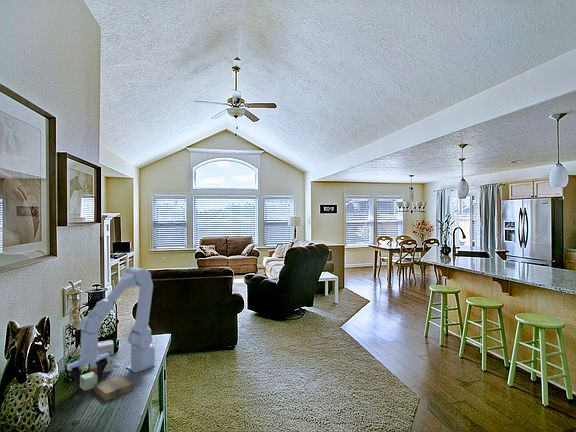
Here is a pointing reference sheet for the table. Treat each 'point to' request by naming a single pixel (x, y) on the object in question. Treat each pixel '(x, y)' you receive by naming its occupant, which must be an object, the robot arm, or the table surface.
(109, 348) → the ink box
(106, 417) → the table surface
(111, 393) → the walnut block
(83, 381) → the sage cube
